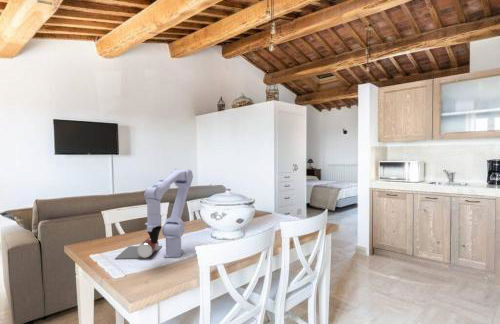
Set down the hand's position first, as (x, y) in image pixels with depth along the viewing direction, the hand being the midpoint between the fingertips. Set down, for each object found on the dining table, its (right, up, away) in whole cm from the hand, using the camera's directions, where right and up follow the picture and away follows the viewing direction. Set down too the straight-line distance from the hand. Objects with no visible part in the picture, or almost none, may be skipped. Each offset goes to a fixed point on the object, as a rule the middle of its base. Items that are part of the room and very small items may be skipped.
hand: (154, 243), depth 133 cm
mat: (-13, -10, +18) cm, 24 cm away
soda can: (-7, -6, +8) cm, 12 cm away
